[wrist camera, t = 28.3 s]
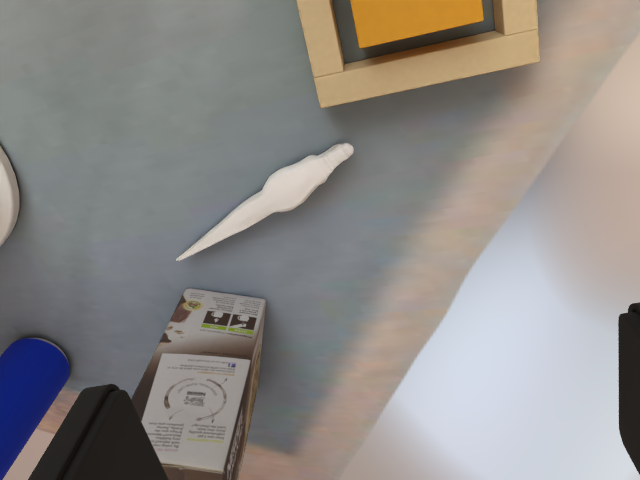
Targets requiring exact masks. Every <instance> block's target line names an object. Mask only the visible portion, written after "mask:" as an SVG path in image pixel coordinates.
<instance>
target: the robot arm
mask: <svg viewBox="0 0 640 480" xmlns="http://www.w3.org/2000/svg"><path fill="white" fill-rule="evenodd" d="M18 212H19V189H18V185H17V181H16V176H15V173H14V171H13V169H12V166H11V164H10V162H9V159H8V157H7V156H6V154H5V153H4V151H3V150H2V148H1V146H0V246H1V245H2V244H3V243H4V242H5V240H6V239H7V238H8V237H9V236H10V234H11V232H12V230H13V228H14V226H15V224H16V222H17V217H18ZM619 430H620V435H621V438H622V441H623V444H624V446H625V448H626V450H627V452H628V454H629V455H630V458H631V460H632V461H633V463H634V465H635V467H636V469H637V471H638V472H639V474H640V303H634V304H631V305H630V306H629V309H628V313H624V314H620V316H619ZM28 480H169V479H168V477H167V475H166V473H165V471H164V469H163V467H162V464H161V462H160V460H159V458H158V456H157V454H156V452H155V450H154V448H153V445H152V443H151V441H150V439H149V437H148V435H147V433H146V431H145V428H144V426H143V424H142V422H141V420H140V418H139V416H138V414H137V412H136V409H135V407H134V405H133V403H132V401H131V399H130V397H129V395H128V393H127V392H126V391H125V390H120V389H119V388H118V387H117V386H116V385H114V384H109V385H103V386H96V387H90V388H86V389H84V390H83V391H82V392H81V393H80V395H79V396H78V398H77V400H76V401H75V403H74V405H73V406H72V408H71V409H70V411H69V413H68V414H67V416H66V418H65V419H64V421H63V423H62V424H61V426H60V428H59V429H58V431H57V433H56V434H55V436H54V438H53V439H52V441H51V443H50V444H49V446H48V448H47V450H46V451H45V453H44V454H43V456H42V458H41V459H40V461H39V462H38V464H37V466H36V468H35V470H34V471H33V472H32V474H31V476H30V477H29V479H28Z"/></svg>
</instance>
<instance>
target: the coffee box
mask: <svg viewBox="0 0 640 480" xmlns="http://www.w3.org/2000/svg"><path fill="white" fill-rule="evenodd" d="M265 308H266V300H265V299H261V298H254V297H247V296H240V295H233V294H226V293H219V292H212V291H205V290H198V289H186V290H185V292H184V293H183V295H182V298H181V300H180V301H179V304H178V306H177V308H176V310H175V312H174V314H173V316H172V318H171V320H170V322H169V324H168V326H167V328H166V330H165V332H164V334H163V336H162V338H161V340H160V343H159V345H158V346H157V348H156V351H155V353H154V355H153V357H152V359H151V361H150V363H149V365H148V367H147V369H146V371H145V373H144V375H143V377H142V379H141V381H140V383H139V385H138V387H137V389H136V391H135V393H134V395H133V397H132V399H131V401H132V403H133V405H134V407H135V409H136V412H137V414H138V416H139V418H140V420H141V422H142V424H143V426H144V428H145V431H146V433H147V435H148V437H149V439H150V441H151V443H152V445H153V448H154V450H155V452H156V454H157V456H158V458H159V460H160V462H161V464H162V467H163V469H164V471H165V473H166V475H167V477H168V479H169V480H239V475H240V470H241V465H242V461H243V456H244V451H245V446H246V441H247V436H248V431H249V427H250V421H251V416H252V412H253V407H254V402H255V397H256V392H257V388H258V380H259V369H260V359H261V349H262V338H263V328H264V317H265Z"/></svg>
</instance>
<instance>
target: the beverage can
mask: <svg viewBox="0 0 640 480" xmlns="http://www.w3.org/2000/svg"><path fill="white" fill-rule="evenodd" d="M69 375H70V366H69V362H68V359H67V357H66V355H65V353H64V352H63V351H62V350H61V349H60V348H59V347H58V346H57V345H55V344H54V343H52V342H50V341H48V340H45V339H41V338H25V339H20V340H17V341H15V342H14V343H12V344H11V345H10V346H9V347H8V348H7V349H6V351H5V352H4V353H3V354H2V355H1V356H0V480H2V479H3V478H4V476H5V475H6V473H7V472H8V470H9V469H10V467H11V466H12V464H13V463H14V461H15V460H16V458H17V456H18V455H19V453H20V452H21V450H22V449H23V447H24V446H25V444H26V443H27V441H28V439H29V438H30V436H31V435H32V433H33V432H34V430H35V429H36V427H37V426H38V424H39V423H40V421H41V420H42V418H43V417H44V415H45V414H46V412H47V411H48V409H49V407H50V406H51V404H52V403H53V401H54V400H55V398H56V397H57V395H58V394H59V392H60V391H61V389H62V388H63V386H64V384H65V383H66V381H67V380H68V378H69Z"/></svg>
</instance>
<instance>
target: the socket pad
mask: <svg viewBox="0 0 640 480" xmlns="http://www.w3.org/2000/svg"><path fill="white" fill-rule="evenodd" d="M296 2H297V6H298V11H299V15H300V20H301V24H302V29H303V33H304V37H305V42H306V46H307V51H308V55H309V59H310V64H311V68H312V73H313V77H314V82H315V86H316V91H317V95H318V99H319V104H320V108H325V107H330V106H335V105H340V104H344V103H349V102H354V101H358V100H363V99H368V98H372V97H377V96H382V95H386V94H391V93H396V92H401V91H405V90H410V89H415V88H419V87H424V86H429V85H433V84H438V83H443V82H448V81H452V80H457V79H462V78H466V77H471V76H476V75H480V74H485V73H490V72H494V71H499V70H504V69H509V68H513V67H518V66H523V65H527V64H532V63H537V62H540V53H539V36H538V18H537V1H536V0H493V12H494V23H495V31H491V32H486V33H482V34H477V35H473V36H468V37H464V38H459V39H455V40H450V41H446V42H441V43H437V44H432V45H428V46H423V47H419V48H414V49H410V50H405V51H401V52H396V53H392V54H387V55H383V56H379V57H374V58H370V59H365V60H361V61H356V62H352V63H347V64H344V58H343V53H342V48H341V43H340V38H339V33H338V28H337V23H336V18H335V13H334V8H333V3H332V0H296Z"/></svg>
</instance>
